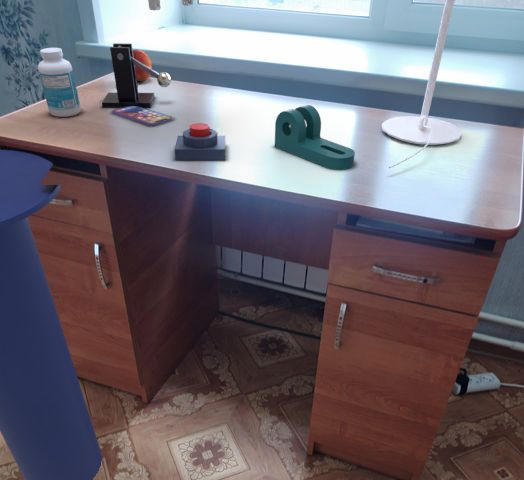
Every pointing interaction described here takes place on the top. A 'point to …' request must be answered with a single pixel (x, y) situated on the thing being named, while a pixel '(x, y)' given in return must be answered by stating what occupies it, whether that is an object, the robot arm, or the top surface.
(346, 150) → the bracket
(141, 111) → the smartphone
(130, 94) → the bracket
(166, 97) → the top surface
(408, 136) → the desk lamp
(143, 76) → the fruit
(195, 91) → the top surface
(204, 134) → the button
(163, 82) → the lever
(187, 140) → the button box
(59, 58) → the pill bottle
